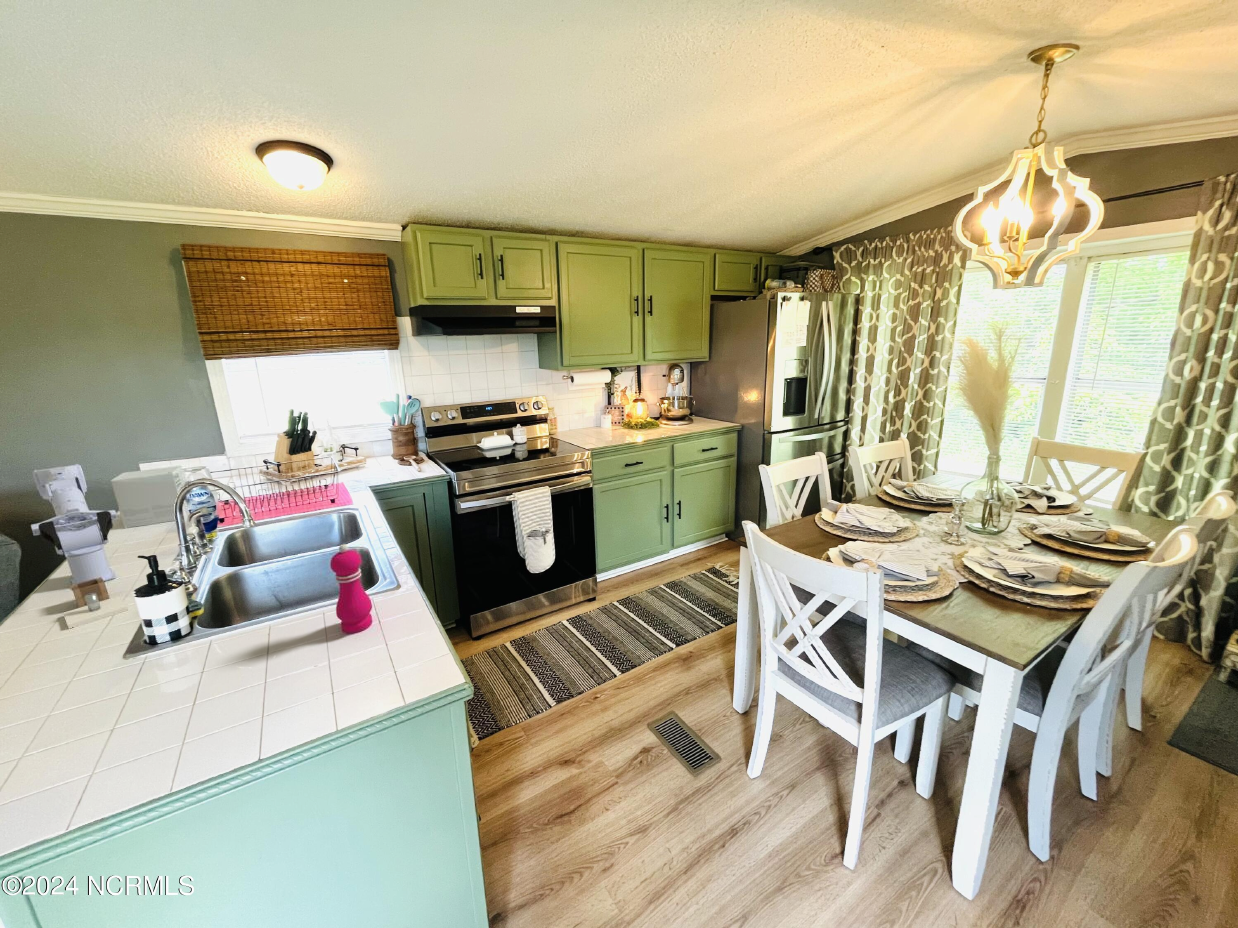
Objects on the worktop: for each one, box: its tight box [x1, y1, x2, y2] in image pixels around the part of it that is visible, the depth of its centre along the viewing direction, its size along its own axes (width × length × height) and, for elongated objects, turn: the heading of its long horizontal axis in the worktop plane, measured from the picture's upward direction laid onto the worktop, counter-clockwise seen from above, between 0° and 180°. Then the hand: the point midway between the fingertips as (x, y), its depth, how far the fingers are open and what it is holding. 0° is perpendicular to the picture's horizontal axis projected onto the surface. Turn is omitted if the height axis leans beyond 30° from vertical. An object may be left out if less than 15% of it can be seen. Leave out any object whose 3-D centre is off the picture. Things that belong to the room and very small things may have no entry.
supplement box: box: [109, 465, 186, 529], centre depth 183 cm, size 17×13×18 cm
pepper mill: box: [330, 544, 373, 634], centre depth 111 cm, size 7×7×20 cm
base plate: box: [62, 593, 129, 630], centre depth 120 cm, size 9×10×5 cm
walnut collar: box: [70, 577, 111, 608], centre depth 126 cm, size 5×5×5 cm
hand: (82, 541), depth 121 cm, fingers open, 7 cm apart
